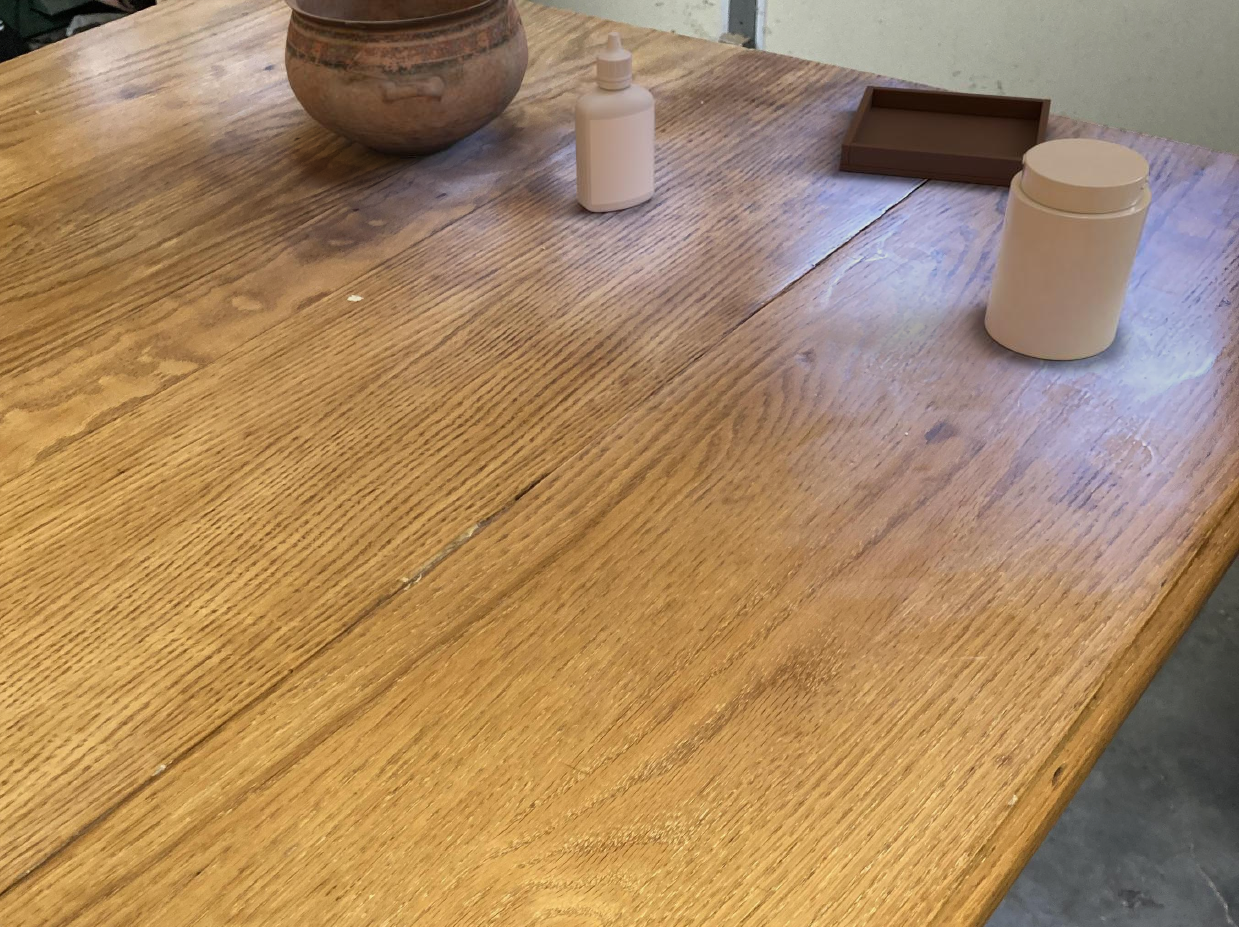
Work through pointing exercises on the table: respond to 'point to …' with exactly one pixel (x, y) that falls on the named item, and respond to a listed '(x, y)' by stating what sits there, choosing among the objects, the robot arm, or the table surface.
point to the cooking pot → (405, 68)
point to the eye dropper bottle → (615, 136)
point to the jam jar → (1068, 248)
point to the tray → (943, 134)
